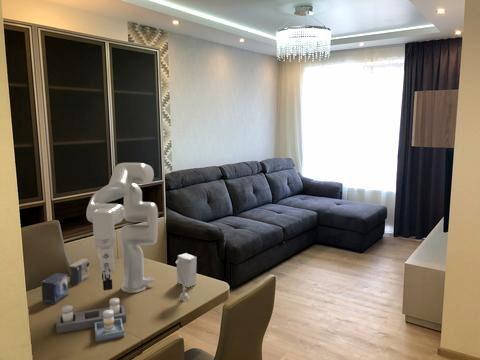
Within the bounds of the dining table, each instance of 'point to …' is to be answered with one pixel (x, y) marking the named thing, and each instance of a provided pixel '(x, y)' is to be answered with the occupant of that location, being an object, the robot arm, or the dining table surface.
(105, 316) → the white striped cylinder
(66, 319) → the fuse
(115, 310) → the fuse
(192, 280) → the skincare box
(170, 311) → the dining table surface
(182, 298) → the chalice
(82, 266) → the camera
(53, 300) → the small box
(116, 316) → the fuse block
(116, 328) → the tray
